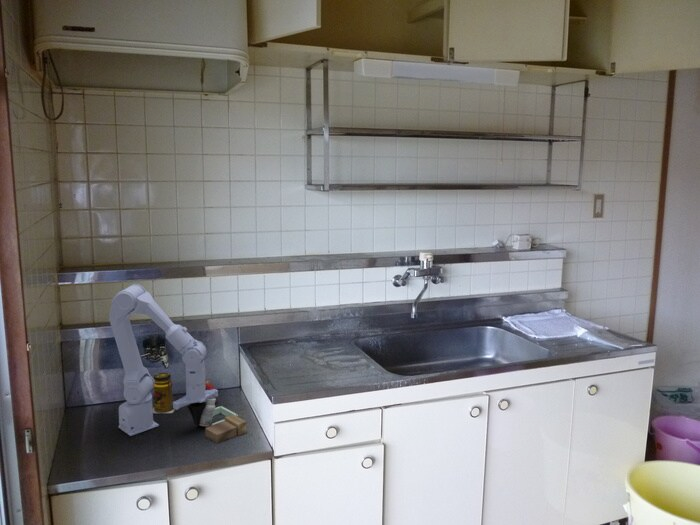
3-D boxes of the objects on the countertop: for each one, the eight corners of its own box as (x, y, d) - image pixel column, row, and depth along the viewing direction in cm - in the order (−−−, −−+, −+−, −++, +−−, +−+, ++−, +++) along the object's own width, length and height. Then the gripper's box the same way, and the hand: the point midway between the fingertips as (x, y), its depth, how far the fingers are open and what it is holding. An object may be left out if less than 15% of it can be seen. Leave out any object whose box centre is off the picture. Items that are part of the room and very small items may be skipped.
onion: (212, 408, 197) (211, 385, 195) (196, 406, 198) (195, 383, 196) (219, 401, 202) (218, 379, 201) (203, 399, 204) (203, 377, 202)
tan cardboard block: (217, 444, 174) (216, 434, 173) (205, 437, 178) (205, 428, 177) (236, 436, 179) (236, 427, 178) (224, 429, 183) (224, 420, 182)
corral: (213, 430, 181) (212, 424, 181) (195, 420, 188) (195, 414, 187) (238, 421, 188) (238, 415, 188) (221, 411, 195) (221, 405, 194)
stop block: (238, 435, 179) (238, 424, 178) (224, 427, 183) (224, 417, 183) (246, 432, 181) (246, 421, 180) (232, 424, 186) (232, 414, 185)
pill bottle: (196, 420, 186) (203, 394, 186) (211, 423, 187) (218, 397, 187) (194, 424, 182) (200, 397, 182) (209, 427, 182) (216, 401, 182)
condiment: (149, 413, 192) (148, 378, 190) (157, 402, 200) (155, 369, 198) (172, 413, 192) (171, 378, 190) (179, 402, 201) (177, 369, 198)
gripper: (181, 392, 172) (182, 436, 174) (223, 379, 182) (224, 421, 185) (168, 385, 177) (170, 428, 179) (210, 373, 187) (211, 413, 189)
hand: (196, 424), depth 182 cm, fingers closed, pressing on pill bottle
